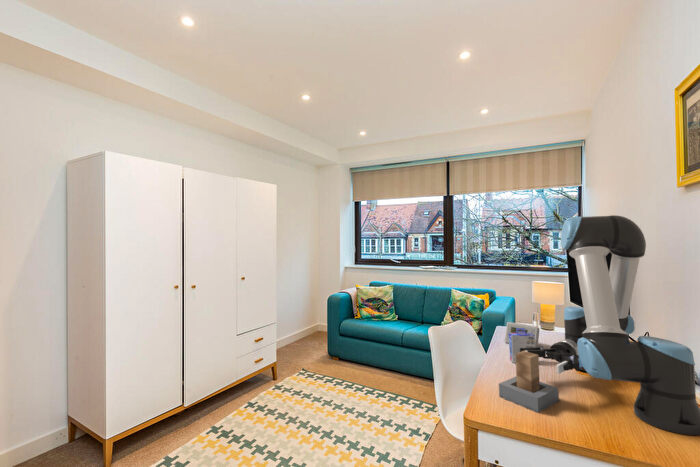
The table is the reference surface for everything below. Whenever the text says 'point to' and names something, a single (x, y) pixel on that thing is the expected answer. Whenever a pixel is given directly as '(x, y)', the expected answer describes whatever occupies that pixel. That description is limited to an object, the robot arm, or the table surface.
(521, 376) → the walnut block
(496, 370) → the table surface
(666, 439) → the table surface
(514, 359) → the ink cartridge box
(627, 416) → the table surface
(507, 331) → the digital clock
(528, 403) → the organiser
